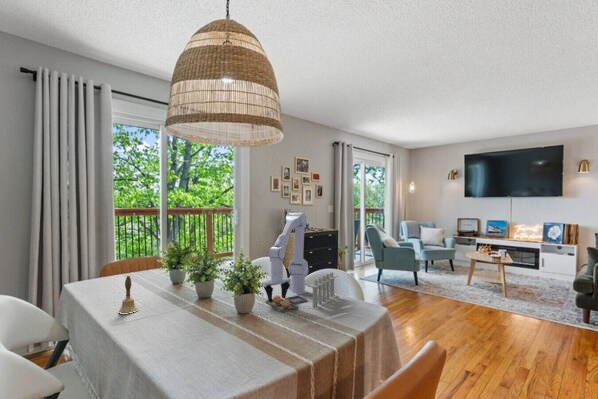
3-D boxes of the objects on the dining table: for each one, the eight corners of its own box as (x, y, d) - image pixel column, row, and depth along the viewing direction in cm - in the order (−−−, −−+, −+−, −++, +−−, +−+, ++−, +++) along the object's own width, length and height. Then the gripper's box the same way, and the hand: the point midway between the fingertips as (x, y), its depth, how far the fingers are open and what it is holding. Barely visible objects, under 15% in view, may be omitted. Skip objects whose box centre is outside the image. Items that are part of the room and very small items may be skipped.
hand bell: (113, 313, 139) (113, 277, 139) (130, 307, 146) (130, 273, 147) (125, 316, 135) (125, 279, 135) (142, 310, 143) (142, 275, 143)
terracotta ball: (271, 303, 151) (271, 295, 151) (278, 301, 153) (278, 293, 153) (275, 305, 148) (275, 297, 148) (282, 303, 150) (282, 295, 150)
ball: (279, 307, 145) (279, 299, 145) (286, 305, 147) (286, 297, 147) (284, 310, 141) (284, 301, 141) (291, 308, 144) (291, 299, 144)
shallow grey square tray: (284, 301, 156) (284, 298, 156) (297, 298, 160) (297, 295, 160) (293, 305, 149) (293, 302, 149) (307, 302, 154) (307, 299, 154)
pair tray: (265, 303, 151) (265, 300, 151) (279, 300, 156) (279, 297, 156) (283, 313, 138) (283, 310, 138) (297, 309, 143) (297, 306, 143)
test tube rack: (316, 311, 142) (316, 282, 142) (308, 309, 144) (307, 281, 144) (338, 296, 163) (338, 271, 163) (330, 295, 165) (330, 270, 165)
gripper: (267, 275, 143) (267, 304, 143) (293, 271, 151) (293, 298, 151) (260, 272, 149) (260, 300, 149) (286, 268, 157) (286, 295, 157)
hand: (276, 299), depth 150 cm, fingers open, 7 cm apart
